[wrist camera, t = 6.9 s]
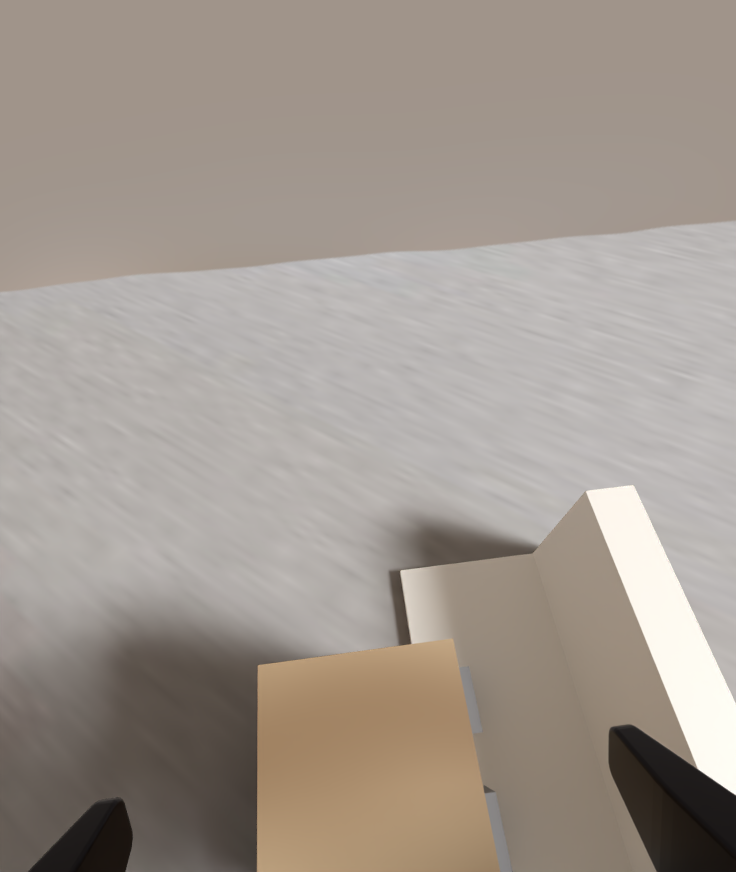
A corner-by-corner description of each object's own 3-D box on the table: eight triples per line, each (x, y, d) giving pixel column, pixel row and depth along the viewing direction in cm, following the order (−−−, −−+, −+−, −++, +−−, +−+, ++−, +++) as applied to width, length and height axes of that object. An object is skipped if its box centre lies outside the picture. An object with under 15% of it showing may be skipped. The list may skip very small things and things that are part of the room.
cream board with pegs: (780, 1005, 14) (1077, 1214, 8) (290, 1087, 13) (214, 1378, 7) (600, 548, 21) (684, 478, 15) (280, 589, 21) (238, 534, 15)
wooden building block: (441, 851, 16) (541, 1074, 6) (332, 868, 16) (235, 1126, 6) (416, 686, 19) (452, 638, 8) (321, 699, 18) (243, 666, 8)
